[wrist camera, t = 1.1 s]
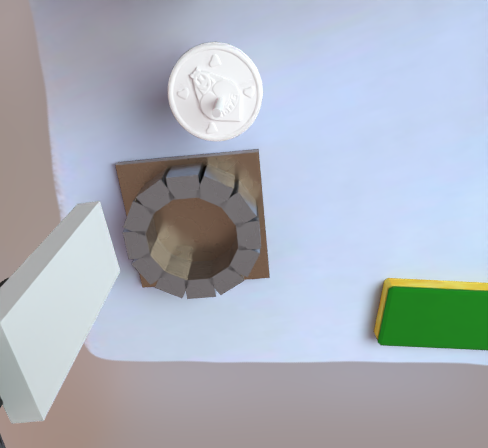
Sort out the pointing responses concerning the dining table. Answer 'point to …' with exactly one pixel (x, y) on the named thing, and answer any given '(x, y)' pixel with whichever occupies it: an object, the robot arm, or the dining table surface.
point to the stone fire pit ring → (195, 221)
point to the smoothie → (215, 91)
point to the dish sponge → (433, 314)
